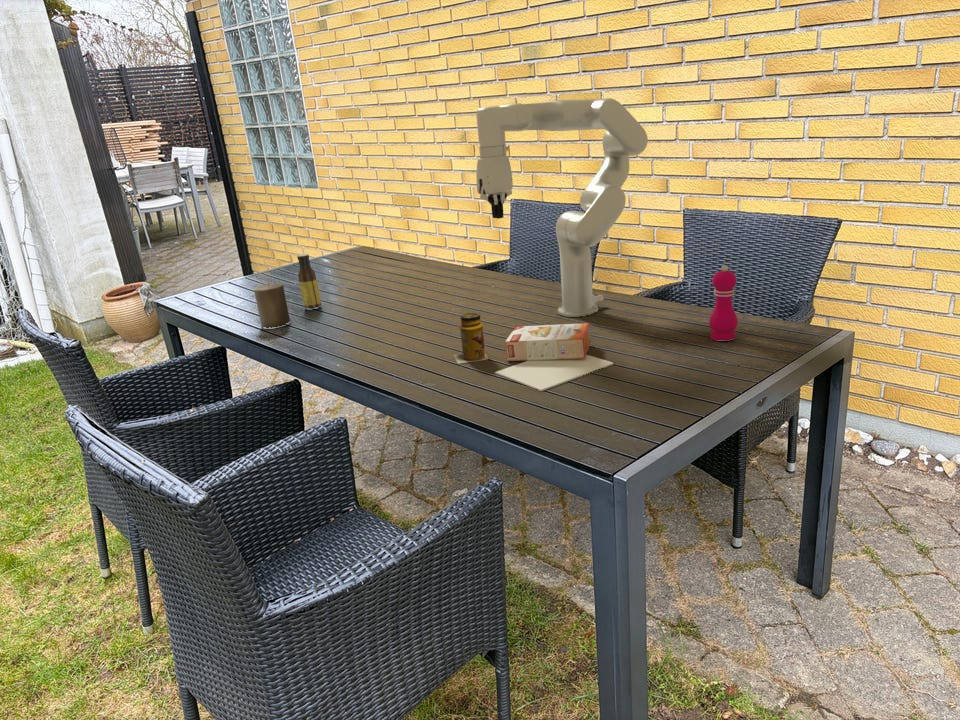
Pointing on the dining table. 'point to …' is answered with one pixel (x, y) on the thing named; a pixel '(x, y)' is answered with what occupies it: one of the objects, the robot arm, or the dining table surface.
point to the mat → (552, 371)
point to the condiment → (471, 339)
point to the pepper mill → (723, 306)
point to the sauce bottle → (308, 283)
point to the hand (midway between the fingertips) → (498, 217)
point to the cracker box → (548, 342)
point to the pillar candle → (272, 305)
